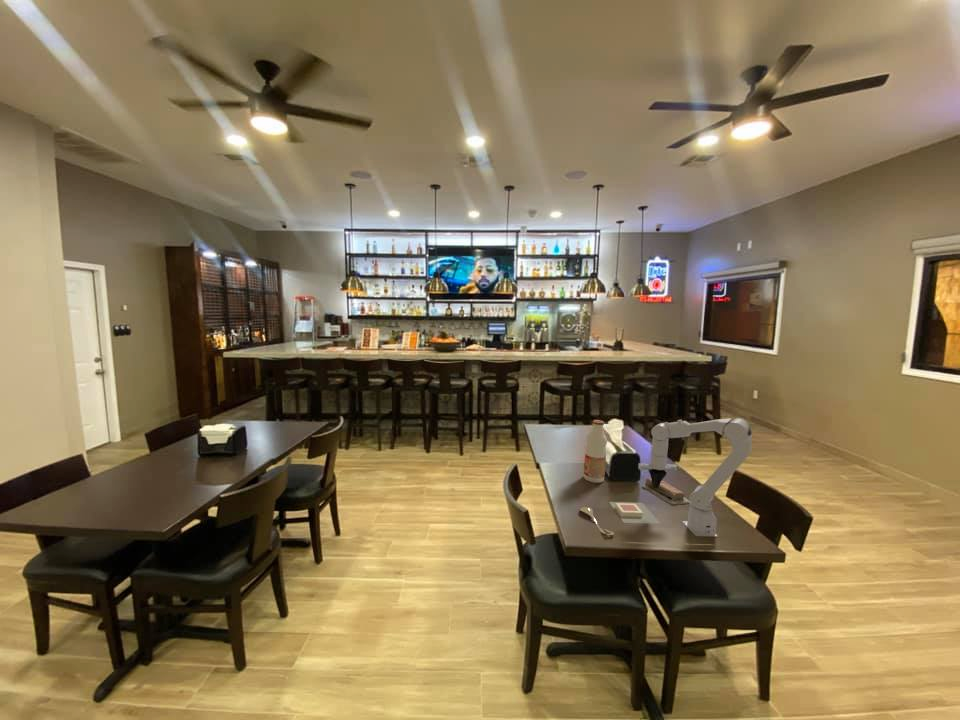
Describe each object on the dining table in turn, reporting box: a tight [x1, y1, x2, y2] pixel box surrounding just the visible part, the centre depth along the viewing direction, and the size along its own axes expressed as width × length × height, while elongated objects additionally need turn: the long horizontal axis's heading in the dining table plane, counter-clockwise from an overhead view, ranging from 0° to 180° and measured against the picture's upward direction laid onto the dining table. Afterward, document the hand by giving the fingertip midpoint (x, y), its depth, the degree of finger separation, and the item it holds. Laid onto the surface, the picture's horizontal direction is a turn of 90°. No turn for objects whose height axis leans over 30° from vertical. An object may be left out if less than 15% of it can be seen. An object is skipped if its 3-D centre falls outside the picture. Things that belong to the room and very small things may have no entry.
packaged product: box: [641, 477, 690, 506], centre depth 172 cm, size 18×5×10 cm
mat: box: [608, 501, 662, 525], centre depth 155 cm, size 16×14×1 cm
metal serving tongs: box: [579, 506, 615, 536], centre depth 146 cm, size 20×4×5 cm
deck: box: [615, 503, 643, 517], centre depth 155 cm, size 7×2×8 cm
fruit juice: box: [582, 419, 608, 484], centre depth 184 cm, size 9×9×28 cm
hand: (655, 487), depth 155 cm, fingers closed
